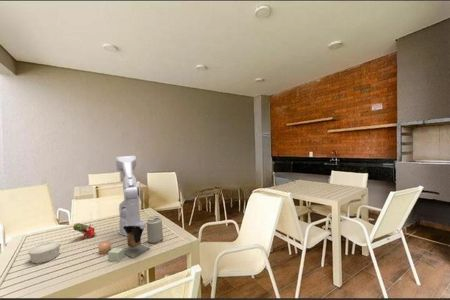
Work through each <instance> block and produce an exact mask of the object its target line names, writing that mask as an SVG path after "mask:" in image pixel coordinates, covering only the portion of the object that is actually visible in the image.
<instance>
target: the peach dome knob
mask: <svg viewBox="0 0 450 300" xmlns="http://www.w3.org/2000/svg"><path fill="white" fill-rule="evenodd" d="M111 250H112V243H111V241H109V240H106V241H102V242H100V243H99V244H98V254H99V255H102V256H103V255H106V254H107V255H108V252H109V251H111Z"/></svg>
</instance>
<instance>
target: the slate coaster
mask: <svg viewBox="0 0 450 300" xmlns="http://www.w3.org/2000/svg"><path fill="white" fill-rule="evenodd" d="M150 249H151V248H150V247H148V246H146V245H142V244H140V245H139V246H137V247H135V248H131V247H128V248H126V249H124V252H125V257H128V258H131V259H136V258H137V257H138V256H140V255H142V254H143V253H146V252H147V251H149V250H150Z"/></svg>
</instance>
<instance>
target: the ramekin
mask: <svg viewBox="0 0 450 300" xmlns="http://www.w3.org/2000/svg"><path fill="white" fill-rule="evenodd" d="M60 247H61V242H59V241H48V242H45V243H41V244H38V245H36V246H34V247H31V248H30V249H29V250H28V253H27V254H28V255H29V257H30V261H31V262H32V263H33V264H43V263H46V262H50V261H52V260H54V259H55V258H57V257H58V255H59V253H60Z"/></svg>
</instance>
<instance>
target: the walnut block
mask: <svg viewBox="0 0 450 300" xmlns="http://www.w3.org/2000/svg"><path fill="white" fill-rule="evenodd" d="M126 237H127V240H126V241H127V247H128V248H130V247H131V248H135V247H137V246H139V245H142V240H140V242H138V243H136V242H135V238H134V234H133V232H130V233H127V236H126Z"/></svg>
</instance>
